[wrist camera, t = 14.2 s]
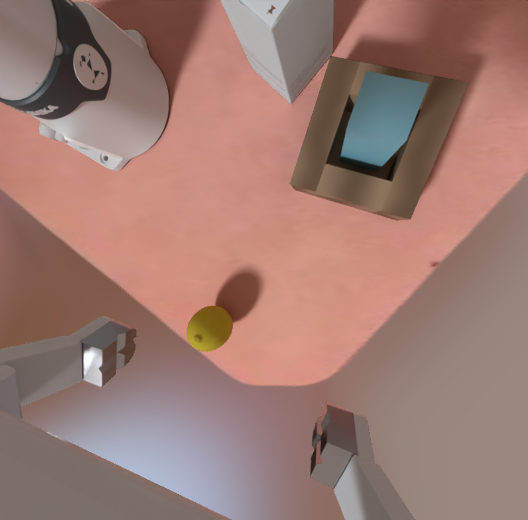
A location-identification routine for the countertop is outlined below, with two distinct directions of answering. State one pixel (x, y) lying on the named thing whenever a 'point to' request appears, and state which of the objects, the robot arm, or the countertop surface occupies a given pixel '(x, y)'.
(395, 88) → the blue square pillar
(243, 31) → the supplement box
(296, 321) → the countertop surface
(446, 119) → the well block
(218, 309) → the lemon
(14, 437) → the robot arm
